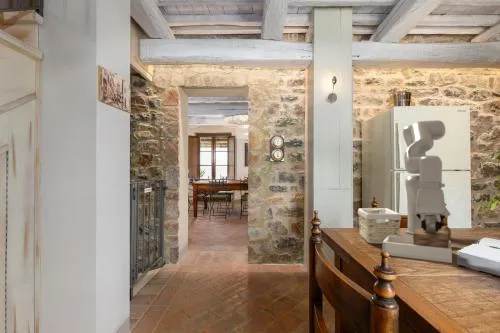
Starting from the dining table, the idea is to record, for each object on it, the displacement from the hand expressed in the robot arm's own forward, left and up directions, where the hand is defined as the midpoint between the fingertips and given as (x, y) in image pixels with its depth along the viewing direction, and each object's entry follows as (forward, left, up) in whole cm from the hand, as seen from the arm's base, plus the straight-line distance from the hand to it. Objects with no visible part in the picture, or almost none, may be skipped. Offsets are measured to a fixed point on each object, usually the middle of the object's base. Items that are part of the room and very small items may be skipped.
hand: (430, 230), depth 131 cm
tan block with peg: (0, 0, -9) cm, 9 cm away
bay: (+4, -3, -10) cm, 11 cm away
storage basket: (+2, -31, -11) cm, 33 cm away
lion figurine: (-14, -10, -11) cm, 20 cm away
